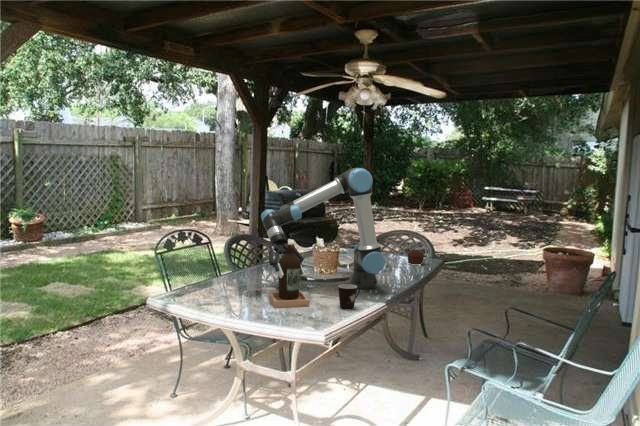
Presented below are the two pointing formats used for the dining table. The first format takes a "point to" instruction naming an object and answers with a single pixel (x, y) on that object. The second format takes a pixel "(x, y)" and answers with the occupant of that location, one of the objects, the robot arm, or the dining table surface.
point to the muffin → (415, 257)
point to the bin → (288, 301)
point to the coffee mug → (347, 295)
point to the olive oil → (289, 275)
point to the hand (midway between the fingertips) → (292, 275)
